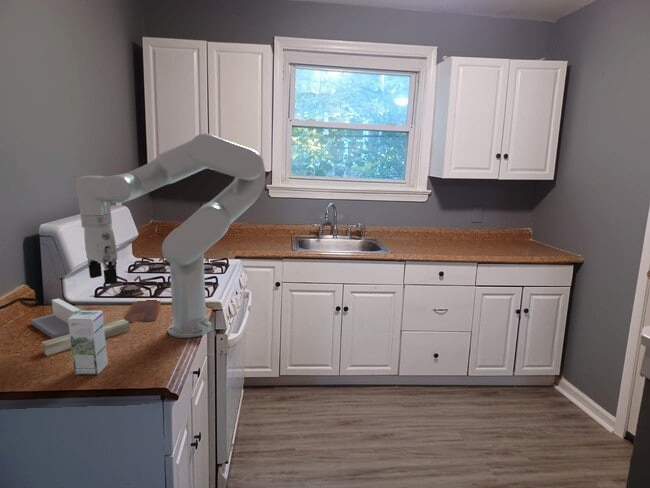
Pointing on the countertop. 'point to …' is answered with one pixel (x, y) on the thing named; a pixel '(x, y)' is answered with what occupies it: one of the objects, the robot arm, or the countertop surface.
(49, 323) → the stand
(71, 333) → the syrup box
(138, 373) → the countertop surface
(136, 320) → the wooden tablet
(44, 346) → the birch beam
